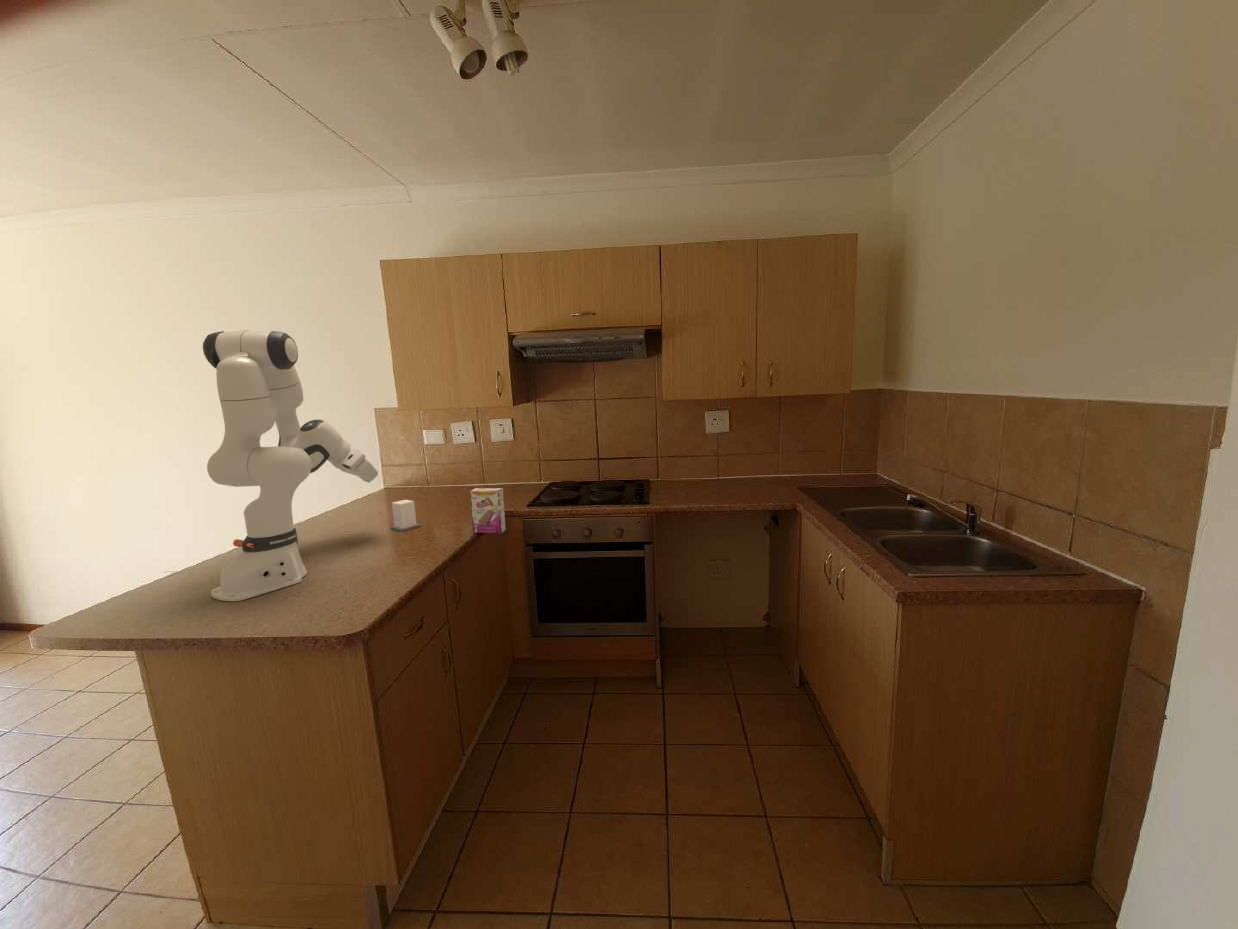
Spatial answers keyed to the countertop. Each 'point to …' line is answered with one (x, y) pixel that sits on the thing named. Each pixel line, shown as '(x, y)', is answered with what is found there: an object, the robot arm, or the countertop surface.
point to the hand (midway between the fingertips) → (368, 480)
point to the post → (405, 528)
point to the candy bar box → (488, 510)
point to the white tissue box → (404, 514)
